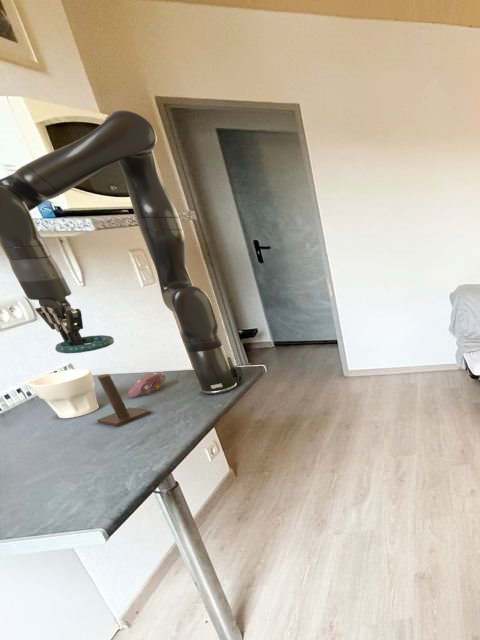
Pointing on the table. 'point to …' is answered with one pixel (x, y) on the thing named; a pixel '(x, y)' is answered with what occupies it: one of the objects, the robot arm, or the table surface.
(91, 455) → the table surface
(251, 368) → the table surface
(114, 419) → the post
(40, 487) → the table surface
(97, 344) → the ring
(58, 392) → the cup
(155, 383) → the pink oval lump
